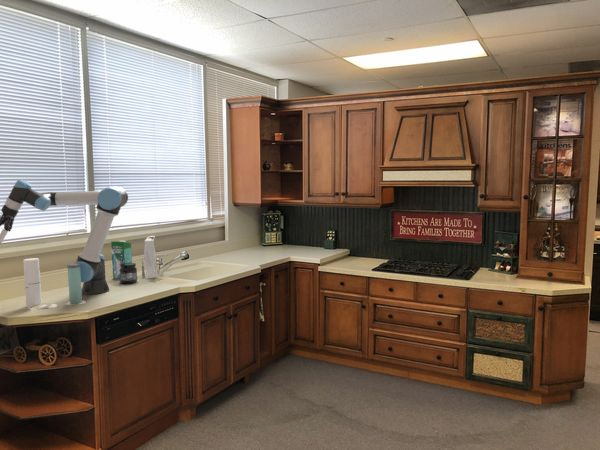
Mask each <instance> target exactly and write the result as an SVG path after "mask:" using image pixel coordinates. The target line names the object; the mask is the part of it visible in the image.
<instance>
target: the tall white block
mask: <svg viewBox="0 0 600 450" xmlns="http://www.w3.org/2000/svg"><path fill="white" fill-rule="evenodd" d="M23 276H24V277H23V278H24V286H25V287H24V291H25V303H26V304H25V305H26V308H27V309H33V307H34V306H40V305H42V303H43V300H42V297H43V296H42V286H41V284H42V283H41V271H40V259H39V258H38V257H34V258H33V257H31V258H29V257H28V258H25V259H23Z"/></svg>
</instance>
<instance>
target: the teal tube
mask: <svg viewBox="0 0 600 450" xmlns="http://www.w3.org/2000/svg"><path fill="white" fill-rule="evenodd" d="M80 266H81V265H80V264H74V263H71V264H67V265H66V268H67V279H68V280H67V281H68V283H67V284H68V297H69V302H70V304H79V303H82V300H83V294H82V282H81V272H80ZM79 305H80V304H79Z"/></svg>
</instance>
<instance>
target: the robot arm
mask: <svg viewBox="0 0 600 450" xmlns="http://www.w3.org/2000/svg"><path fill="white" fill-rule="evenodd" d="M32 188H33V184H31V183H30V182H28V181H27V180H24V179H18V180H16V182H15V184H14V185H13V187H12V189H11V191H10V193H9V195H8V197H6V200H5V202H4V204H3V206H2V208H1V209H0V211H1V212H2V214H0V227H1V226H3V228H2V230H1V232H0V242H1V243H2V242H4V240H5V238H6V237H7V234H8V232H9V233H10V232H11V230H12V228H13V224H14V222H15V221H14V220H15V218H16V217H17V215H18V213H19V210H21V208H22V206H23V204H24V202H25V203H26V204H28V205H31V207H33V208H36V209H37V210H40V211H43V212H44V211H47V210H48V209H49V207H58V206H61V207H62V206H63V207H64V206H83V205H84V206H86V205H87V206H91V205H95V206H96V210H97V212H96V213H97V214H96V215H95V216H96V217H95V219H94V222H93V225H92V227H91V228H90V229H91V230H90V232H89V235H88V237H87V240H86V242H85V244H84V248H83V251H82V252H80V253H79V254H78V256H77V258H76V262H74V263H73V264H80V265H81V266H80V272H81V283H82V285H81V289H82V295H85V296H91V295H92V296H93V295H95V296H96V295H101V294H105V293H109V292H110V287H109V285H108V282H107V280H106V262H105V261H106V260H105V255H104V254H101V252H102V250H103V247H104V244H105V241H106V240H107V237H108V235H109V234H108V233H109V231H110V229H111V226H112V223H113V222H114V219H115V217H117V216H118V215H119V213H120V211H121V208H122V207H124V206H125V205H126V204H127V203H128V200H129V194H128V192H127V190H125V189H124V188H123V187H120V186H107V187H105V188H103V189H102V190H90V191H89V190H87V191H83V190H82V191H62V192H61V191H57V192H52V191H51V192H48V191H47V192H42V193H40V192H38V191H36V190H34V189H32Z"/></svg>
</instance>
